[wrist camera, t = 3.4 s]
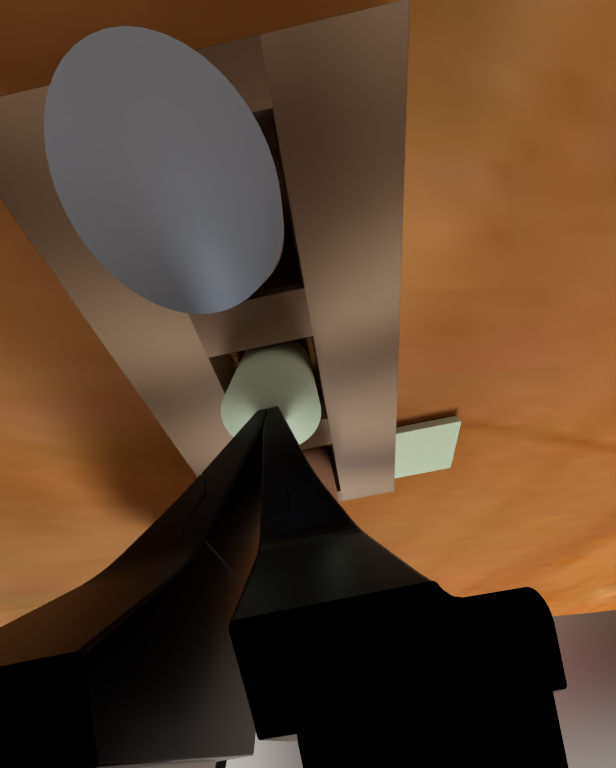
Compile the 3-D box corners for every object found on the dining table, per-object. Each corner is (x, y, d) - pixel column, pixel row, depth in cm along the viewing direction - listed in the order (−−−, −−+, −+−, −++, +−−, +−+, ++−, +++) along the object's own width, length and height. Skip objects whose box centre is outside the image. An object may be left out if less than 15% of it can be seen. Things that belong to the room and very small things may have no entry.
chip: (445, 461, 18) (450, 467, 18) (387, 473, 18) (389, 479, 18) (455, 415, 16) (461, 421, 15) (387, 429, 16) (390, 435, 15)
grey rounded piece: (294, 279, 9) (300, 294, 5) (198, 299, 9) (135, 329, 5) (267, 139, 7) (242, -7, 3) (143, 167, 7) (-28, 60, 3)
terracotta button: (333, 478, 15) (348, 548, 12) (278, 489, 15) (276, 562, 12) (326, 438, 13) (340, 507, 10) (262, 451, 13) (253, 524, 10)
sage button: (316, 390, 13) (327, 441, 10) (253, 403, 14) (240, 458, 10) (304, 328, 11) (312, 361, 8) (230, 343, 12) (203, 384, 8)
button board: (380, 462, 17) (394, 491, 15) (236, 490, 18) (229, 522, 16) (373, 74, 7) (409, -2, 5) (37, 152, 8) (-62, 111, 5)
